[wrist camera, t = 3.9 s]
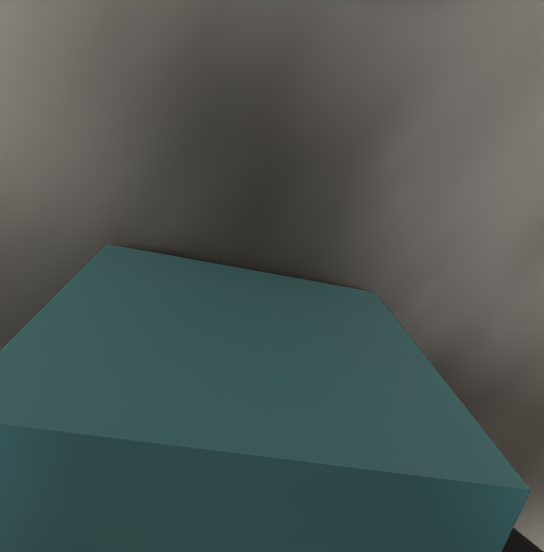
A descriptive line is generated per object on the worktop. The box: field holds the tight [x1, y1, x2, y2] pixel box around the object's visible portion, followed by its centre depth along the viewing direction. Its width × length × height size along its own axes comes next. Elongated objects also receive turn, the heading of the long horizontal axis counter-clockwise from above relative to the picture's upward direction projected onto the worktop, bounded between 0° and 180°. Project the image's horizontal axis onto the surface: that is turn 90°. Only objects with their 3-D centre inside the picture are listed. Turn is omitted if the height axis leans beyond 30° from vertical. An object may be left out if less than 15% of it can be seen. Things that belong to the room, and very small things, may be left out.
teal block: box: [0, 244, 531, 552], centre depth 7 cm, size 5×5×5 cm
